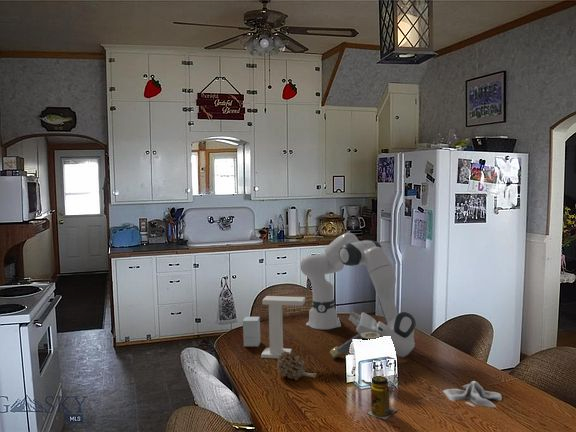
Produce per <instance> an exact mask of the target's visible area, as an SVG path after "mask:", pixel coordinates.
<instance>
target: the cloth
mask: <svg viewBox="0 0 576 432" xmlns="http://www.w3.org/2000/svg"><path fill="white" fill-rule="evenodd" d="M461 387H463V388H464V389H465V390H463V389H461V388H460V389H458V388H448V389H444V390H443V391H442V392H443V393H444V395H445V396H446V397H447V399H448V400H450V401H451V402H456V401H459V400H460V401H461V400H468V401H464V404H466V405H469V406H471V407H476V405H478V406H484V407H489V408H496V407H497V405H496V404H494V403H493V402H492V401H493V400H494V401H499V402H500V401H503V399H502V398H503V397H502V394H501V393H500V392H497V391H489V390H485V389H484V388H483V386H481V384H480V383H479V382H478V381H475V380H473V381H470V383H467V384H464V385H462V386H461ZM469 400H470V401H471V402H472V403H471V402H470V401H469ZM490 400H492V401H490Z"/></svg>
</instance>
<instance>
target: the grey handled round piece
mask: <svg viewBox="0 0 576 432" xmlns="http://www.w3.org/2000/svg"><path fill="white" fill-rule="evenodd" d="M276 359H277V360H276V361H277V362H276V365H277V367H276V369H277V371H278V372H279V373H281V375H282V376H283V377H286V376H287V379H289V380H292V379H294V380H295V381H298V380H299V379H300V378H302V377H303V376H305V377H310V378H317V375H318V374H317V372H313V373H312V372H311V373H310V372H306V369H307V367H306V362H305V360H302V358H301V357H300V356H299V355H296V353H294V352H291V353H289V352H284V353H282V354H281V355H280V356H279V358H276Z"/></svg>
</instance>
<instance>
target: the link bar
mask: <svg viewBox="0 0 576 432" xmlns="http://www.w3.org/2000/svg"><path fill="white" fill-rule="evenodd" d="M352 339H362V337H361V335H360V334H359V333H357V334H356V335H354V336H353V337H352V338H351V337H350V339H348V340H347V341H345V342H344V343H342V344H341V345H340V346H337V345H336V346H334V347H332V348H331V349H330V351H329V354H330V355H331V357H332V359H336V358H338V357H340V355H342V354H344V353H345V352H346V351H348V350H350V348H349V347H350V344H351V342H352Z"/></svg>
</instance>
